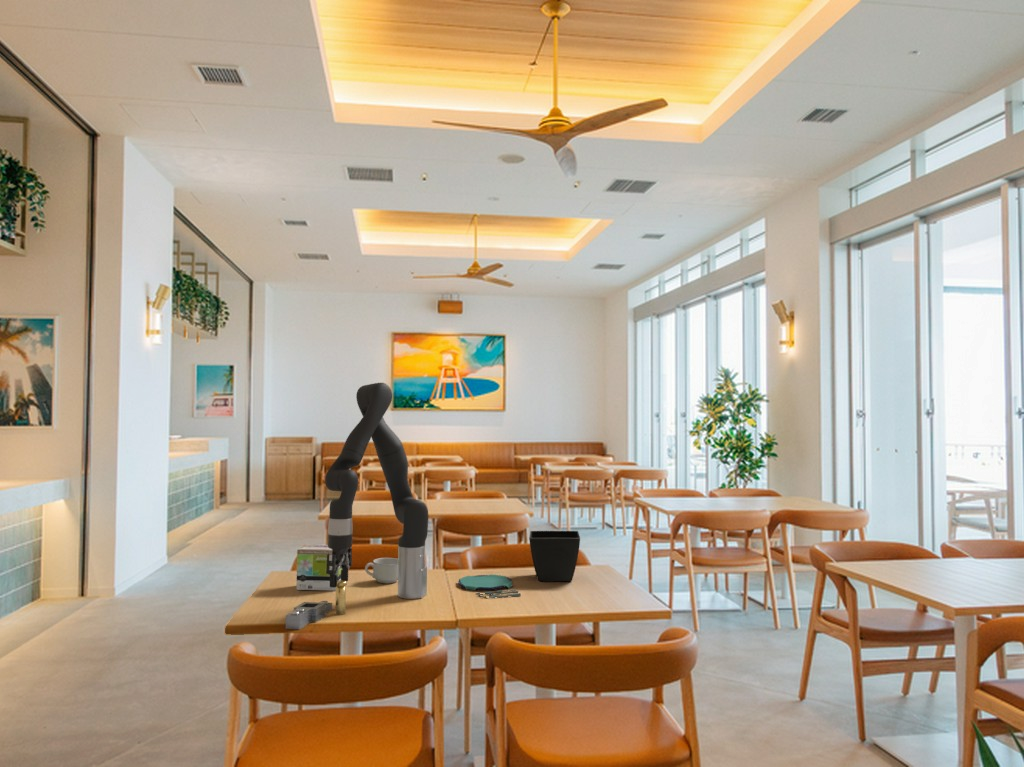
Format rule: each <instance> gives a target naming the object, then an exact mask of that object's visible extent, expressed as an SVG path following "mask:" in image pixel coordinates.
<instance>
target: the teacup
mask: <svg viewBox="0 0 1024 767" xmlns="http://www.w3.org/2000/svg"><path fill="white" fill-rule="evenodd" d="M372 561H373V562H368V563H366V564H365V567H364V572H366V574H367V575H369V576H371V578H373V579H375V580H376V581H377V582H378V583H379V584H394V583H395V582H398V558H396V557H395V558H394V557H379V558H375V559H373V560H372ZM369 567H372V572H370V571H369Z"/></svg>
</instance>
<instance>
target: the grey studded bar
mask: <svg viewBox="0 0 1024 767" xmlns="http://www.w3.org/2000/svg"><path fill="white" fill-rule="evenodd" d="M331 610H333V603H332V602H328V600H322V601H319V602H315V601H313V602H309V601H303V602H302V603H300V604H298V605H297V606H295V607H293V610H292V611H290V612H288V613H287V614H285V629H286V630H301V629H304V628H305V627H306V626H307V624H308V623H309V622H311V621H317V622H319V621H320V620H322V619H324V618H325V617H326V616H327V613H328V612H330V611H331ZM321 618H322V619H321ZM318 620H319V621H318ZM311 623H312V622H311ZM309 624H310V623H309ZM309 624H308V625H309Z"/></svg>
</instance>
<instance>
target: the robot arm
mask: <svg viewBox="0 0 1024 767" xmlns="http://www.w3.org/2000/svg"><path fill="white" fill-rule="evenodd" d="M392 400H393V392H392V389H391V387H390V385H388V384H387V383H385V382H375V383H369V384H365V385H362V386H360V387H358V389H357V392H356V402H357V406H358V409H359V411H360V413H361V416H362V418H361V419H360V421H359V422H358V423H357V424H356V425H355V426H354V428H353V429H352V430H351V432H350V433H349V435H348V436H347V438H346V439H345V442H344V444H343V447H342V449H341V452H340V453H339V456H338V457H337V458H335V461H333V463H332V464H331V466H330V467H329V469H328V470H327V471H326V474H325V477H324V483H325V487H326V489H328V490H330V491H331V492H332V491H333V492H341V493H340V495H339V498H335V499H332V500H331V501H330V503H329V516H328V517H329V519H328V525H327V526H328V527H327V528H328V529H327V545H328V548H330V549H332V550H333V551H332V554H328V555H327V567H326V574H329V575H330V587H333V588H335V587H337V574H338V570H339V569H340V568H341V569H342V570H341V580H345V581H347V582H348V581H349V570H350V567H352V566H353V549H352V547H353V532H354V531H353V504H354V500H355V496H356V493H357V490H358V487H359V476H358V474H357V472H356V471H355V470H353V469H352V468H356V467H358V466H359V465H360V464H361V463H362V460H363V458H364V455H365V453H366V450H367V447H368V446H369V443H370V440H372V442H373V443H372V444H373V445H374V449H375V452H376V455H377V457H378V458H377V459H378V461H379V464H380V467H381V470H382V472H383V475H384V478H385V482H386V485H387V487H388V490H389V492H390V497H391V503H392V506H393V511H394V516H395V518H396V519H397V521H398V522H399V523H401V524H402V525H403V527H402V535H401V536H399V537H398V539H397V540H398V541H397V542H398V546H397V549H398V552H397V557H398V558H397V559H398V580H397V597H398V598H401V599H406V600H407V599H408V600H415V599H423V598H424V597H425V596H427V593H428V592H427V591H428V581H427V580H428V567H427V566H426V540H427V537H428V531H429V510H428V506H427V504H426V503H425V502H424V501H422V500H420V499H416V498H415V497H414V495H413V493H412V490H411V486H410V483H409V479H408V478H409V477H408V473H409V471H408V470H409V463H408V457H407V454H406V450H405V448H404V445H403V443H402V441H401V439H400V437H398V435H397V434H396V433H395V432H394V431H393V430H392V429H391V427H390V426H389V425H388V424H387V423H386V421H385V418H384V416H385V414H386V412H387V411H388V409H389V407H390V406H391V404H392ZM329 567H330V570H329ZM335 569H336V570H335Z"/></svg>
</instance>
